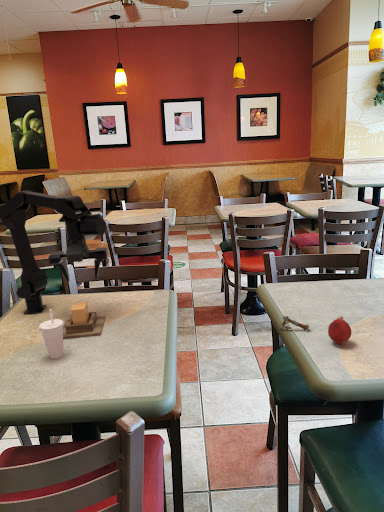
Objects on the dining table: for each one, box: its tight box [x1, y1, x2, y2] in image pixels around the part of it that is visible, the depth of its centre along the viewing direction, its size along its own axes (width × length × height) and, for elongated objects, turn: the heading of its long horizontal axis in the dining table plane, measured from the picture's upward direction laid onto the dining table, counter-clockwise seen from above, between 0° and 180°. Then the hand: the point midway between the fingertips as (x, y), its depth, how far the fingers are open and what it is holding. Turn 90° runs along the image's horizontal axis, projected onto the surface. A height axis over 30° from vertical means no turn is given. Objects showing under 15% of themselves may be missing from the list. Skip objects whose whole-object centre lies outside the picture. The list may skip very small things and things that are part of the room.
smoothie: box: [38, 308, 64, 360], centre depth 108 cm, size 6×6×14 cm
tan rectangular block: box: [70, 301, 90, 325], centre depth 125 cm, size 6×4×7 cm, turn 6°
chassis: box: [63, 311, 106, 340], centre depth 126 cm, size 13×13×3 cm
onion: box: [327, 315, 352, 345], centre depth 105 cm, size 6×6×8 cm
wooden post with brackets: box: [279, 315, 310, 332], centre depth 115 cm, size 2×8×4 cm, turn 79°
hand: (82, 279), depth 133 cm, fingers open, 9 cm apart
